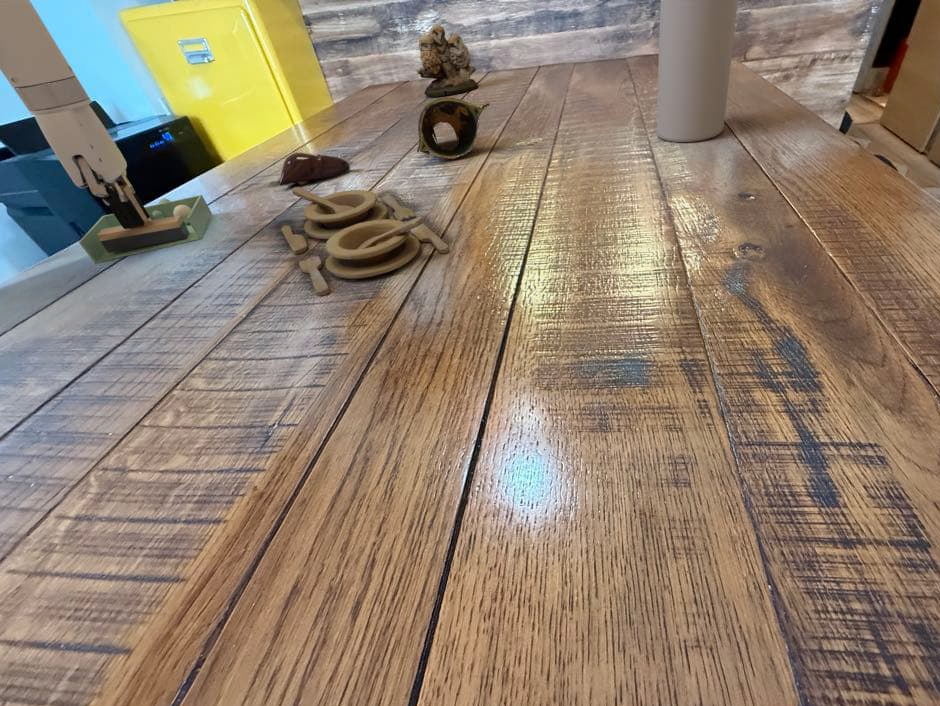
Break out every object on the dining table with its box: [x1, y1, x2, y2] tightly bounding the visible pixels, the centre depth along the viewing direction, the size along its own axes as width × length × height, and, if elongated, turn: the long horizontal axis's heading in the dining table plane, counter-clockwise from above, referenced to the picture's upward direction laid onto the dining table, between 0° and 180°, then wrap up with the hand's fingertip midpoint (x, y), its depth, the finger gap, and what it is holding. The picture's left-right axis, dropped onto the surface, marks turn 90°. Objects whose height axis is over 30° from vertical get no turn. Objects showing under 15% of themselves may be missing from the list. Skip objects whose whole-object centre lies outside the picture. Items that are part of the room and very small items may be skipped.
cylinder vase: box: [655, 0, 739, 143], centre depth 91 cm, size 12×12×25 cm
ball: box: [173, 205, 192, 224], centre depth 92 cm, size 3×3×3 cm
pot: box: [416, 96, 491, 160], centre depth 106 cm, size 17×11×18 cm
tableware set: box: [280, 186, 450, 297], centre depth 76 cm, size 30×20×6 cm, turn 30°
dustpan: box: [78, 194, 213, 264], centre depth 91 cm, size 19×17×4 cm
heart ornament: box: [279, 151, 351, 187], centre depth 104 cm, size 6×12×11 cm
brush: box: [97, 185, 189, 253], centre depth 84 cm, size 12×3×9 cm, turn 108°
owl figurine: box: [416, 24, 479, 98], centre depth 153 cm, size 18×12×17 cm, turn 115°
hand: (137, 222), depth 84 cm, fingers closed on brush, 2 cm apart
